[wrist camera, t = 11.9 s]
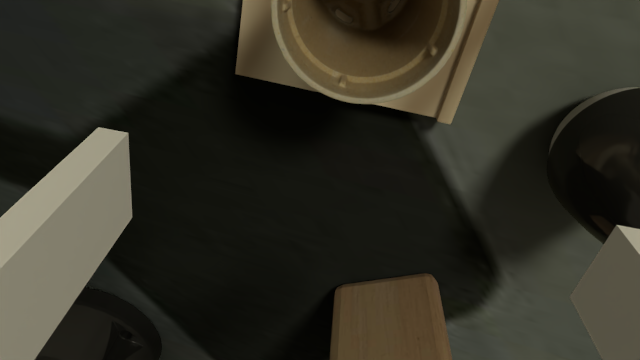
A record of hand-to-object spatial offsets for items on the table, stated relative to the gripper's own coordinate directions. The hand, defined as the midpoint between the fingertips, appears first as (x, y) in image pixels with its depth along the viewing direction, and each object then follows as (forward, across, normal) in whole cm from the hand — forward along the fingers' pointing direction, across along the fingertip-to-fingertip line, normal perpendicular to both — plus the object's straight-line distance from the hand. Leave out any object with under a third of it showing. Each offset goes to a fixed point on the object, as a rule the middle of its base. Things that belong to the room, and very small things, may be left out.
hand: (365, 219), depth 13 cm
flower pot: (+22, 0, +3) cm, 22 cm away
